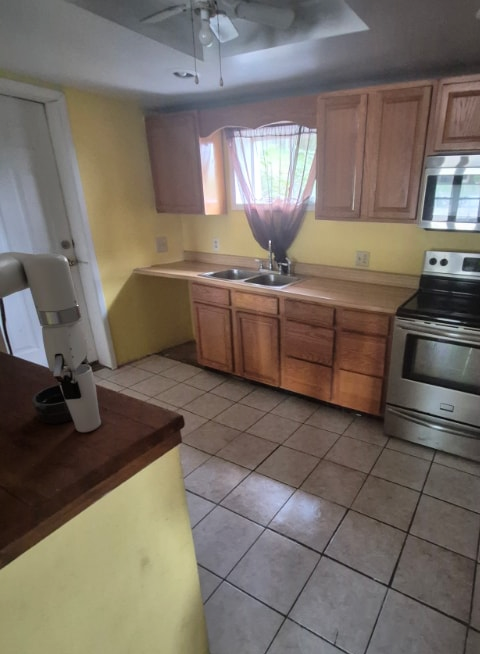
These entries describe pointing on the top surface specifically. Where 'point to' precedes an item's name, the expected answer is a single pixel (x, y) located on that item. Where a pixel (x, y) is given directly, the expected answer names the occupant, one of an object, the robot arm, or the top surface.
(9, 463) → the top surface
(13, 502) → the top surface
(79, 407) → the drinking glass
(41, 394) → the bowl
